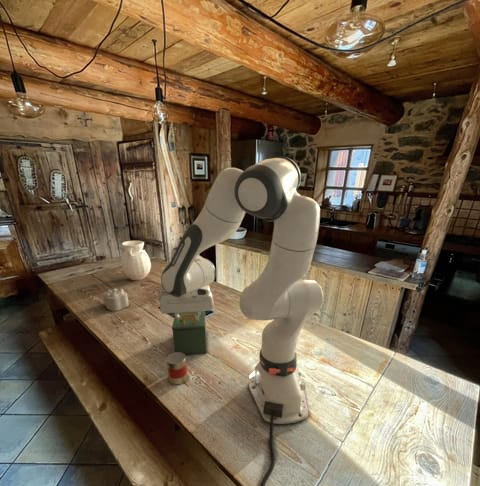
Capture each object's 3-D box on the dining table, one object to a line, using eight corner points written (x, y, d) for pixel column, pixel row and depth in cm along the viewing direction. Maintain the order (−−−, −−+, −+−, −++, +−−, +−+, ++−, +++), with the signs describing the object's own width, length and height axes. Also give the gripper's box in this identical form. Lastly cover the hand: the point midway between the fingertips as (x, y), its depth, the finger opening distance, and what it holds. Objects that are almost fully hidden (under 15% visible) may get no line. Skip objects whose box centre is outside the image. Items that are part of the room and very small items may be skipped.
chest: (206, 352, 109) (205, 328, 104) (175, 355, 108) (172, 330, 103) (206, 332, 123) (204, 309, 118) (178, 333, 122) (176, 311, 117)
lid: (205, 327, 103) (204, 316, 101) (171, 329, 102) (170, 318, 100) (204, 309, 118) (204, 299, 117) (176, 311, 117) (175, 301, 115)
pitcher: (147, 283, 177) (141, 246, 166) (119, 282, 177) (112, 246, 167) (155, 273, 194) (151, 239, 184) (130, 273, 194) (124, 239, 184)
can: (186, 383, 93) (184, 363, 90) (168, 385, 93) (165, 364, 89) (187, 371, 99) (186, 351, 96) (170, 372, 99) (167, 352, 95)
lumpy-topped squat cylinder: (113, 312, 140) (109, 297, 137) (101, 304, 148) (98, 290, 144) (131, 305, 148) (128, 291, 144) (119, 298, 155) (117, 284, 152)
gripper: (155, 293, 95) (160, 326, 100) (213, 290, 97) (214, 323, 102) (158, 286, 100) (162, 318, 106) (212, 283, 103) (214, 315, 108)
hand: (188, 320), depth 104 cm, fingers closed on lid, 5 cm apart
